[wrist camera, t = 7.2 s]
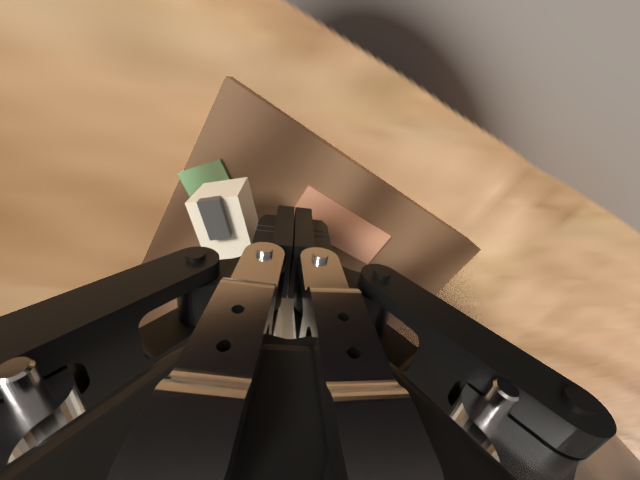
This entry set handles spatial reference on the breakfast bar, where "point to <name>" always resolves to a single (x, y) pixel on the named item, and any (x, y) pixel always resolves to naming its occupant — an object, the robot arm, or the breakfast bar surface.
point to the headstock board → (309, 195)
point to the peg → (231, 229)
